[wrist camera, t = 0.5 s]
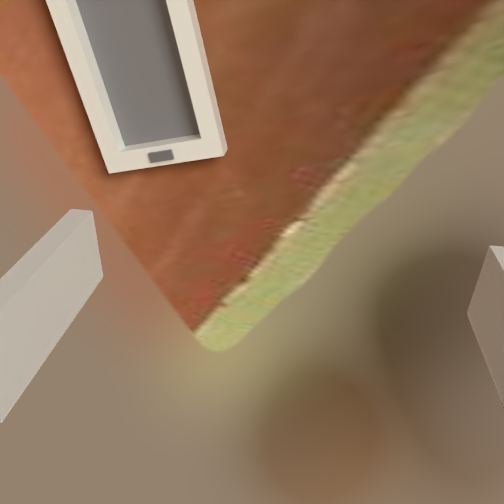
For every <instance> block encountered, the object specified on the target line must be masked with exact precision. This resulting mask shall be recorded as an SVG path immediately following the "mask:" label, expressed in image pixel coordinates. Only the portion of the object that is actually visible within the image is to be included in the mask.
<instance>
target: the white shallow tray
mask: <svg viewBox="0 0 504 504" xmlns="http://www.w3.org/2000/svg"><path fill="white" fill-rule="evenodd" d="M46 2H47V5H48V8H49V11H50V13H51V16H52V19H53V22H54V24H55V27H56V30H57V33H58V35H59V38H60V41H61V44H62V46H63V49H64V52H65V55H66V57H67V60H68V63H69V66H70V68H71V71H72V74H73V77H74V79H75V82H76V85H77V87H78V90H79V93H80V96H81V98H82V101H83V104H84V107H85V109H86V112H87V115H88V118H89V120H90V123H91V126H92V129H93V131H94V134H95V137H96V140H97V142H98V145H99V148H100V151H101V153H102V156H103V159H104V162H105V164H106V167H107V170H108V173H116V172H123V171H129V170H136V169H142V168H149V167H155V166H162V165H168V164H175V163H181V162H188V161H194V160H201V159H207V158H214V157H220V156H224V155H225V153H226V151H227V149H228V148H227V144H226V140H225V135H224V131H223V127H222V122H221V118H220V114H219V110H218V105H217V101H216V97H215V92H214V88H213V84H212V79H211V75H210V71H209V66H208V62H207V58H206V53H205V49H204V45H203V40H202V36H201V32H200V27H199V23H198V19H197V14H196V10H195V6H194V1H193V0H46Z"/></svg>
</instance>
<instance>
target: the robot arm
mask: <svg viewBox="0 0 504 504" xmlns="http://www.w3.org/2000/svg"><path fill="white" fill-rule="evenodd" d="M102 278H103V273H102V267H101V261H100V255H99V249H98V243H97V237H96V230H95V224H94V218H93V212H92V211H87V210H76V209H71V210H70V211H69V212H68V213H67V214H65V216H63V217H62V218H61V219H60V220H59V221H58V223H57V224H55V225H54V226H53V227H52V228H51V230H50V231H48V232H47V233H46V234H45V235H44V236H43V237H42V238H41V239H40V240H39V241H38V242H37V243H36V244H35V245H34V246H33V247H32V248H31V249H30V250H29V251H28V252H27V253H26V254H25V255H24V256H23V257H22V258H21V259H20V260H19V261H18V262H17V263H16V264H15V265H14V266H13V267H12V268H11V269H10V270H9V271H8V272H7V273H6V274H5V275H4V276H3V277H2V278H1V279H0V422H2V421H3V420H4V419H5V417H6V415H7V414H8V413H9V411H10V410H11V409H12V407H13V406H14V404H15V403H16V401H17V400H18V398H19V397H20V396H21V394H22V393H23V391H24V390H25V388H26V387H27V386H28V384H29V383H30V381H31V380H32V378H33V377H34V376H35V374H36V373H37V371H38V370H39V368H40V367H41V365H42V364H43V363H44V361H45V360H46V358H47V357H48V355H49V354H50V353H51V351H52V350H53V348H54V347H55V345H56V344H57V342H58V341H59V340H60V338H61V337H62V335H63V334H64V333H65V331H66V330H67V328H68V327H69V325H70V324H71V322H72V321H73V320H74V318H75V317H76V315H77V314H78V312H79V311H80V310H81V308H82V307H83V305H84V304H85V302H86V301H87V299H88V298H89V297H90V295H91V294H92V292H93V291H94V289H95V288H96V287H97V285H98V284H99V282H100V281H101V279H102ZM467 316H468V318H469V320H470V323H471V326H472V328H473V331H474V333H475V336H476V338H477V341H478V343H479V346H480V348H481V351H482V354H483V356H484V359H485V361H486V363H487V366H488V369H489V371H490V374H491V376H492V379H493V382H494V384H495V387H496V389H497V392H498V394H499V397H500V399H501V402H502V404H503V407H504V247H501V246H489V249H488V252H487V255H486V258H485V261H484V264H483V267H482V270H481V273H480V276H479V279H478V282H477V285H476V288H475V291H474V294H473V297H472V299H471V303H470V306H469V308H468V311H467Z"/></svg>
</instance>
